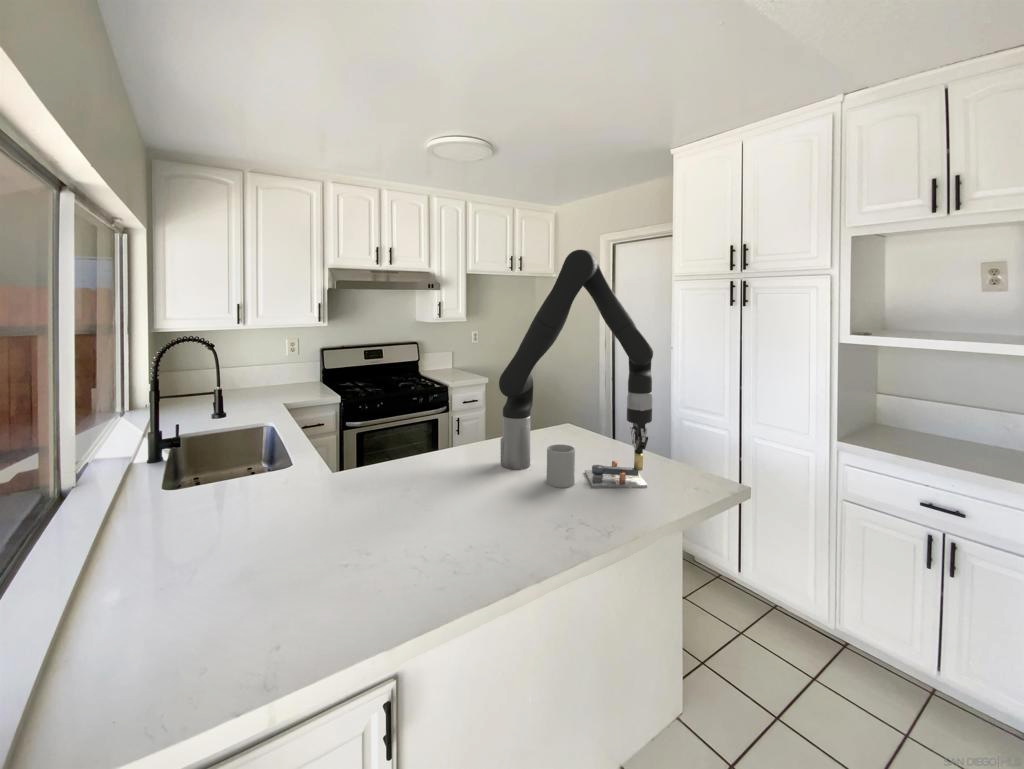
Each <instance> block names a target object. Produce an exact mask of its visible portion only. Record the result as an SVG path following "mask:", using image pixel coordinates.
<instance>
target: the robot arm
mask: <svg viewBox="0 0 1024 769" xmlns="http://www.w3.org/2000/svg"><path fill="white" fill-rule="evenodd" d="M606 279H607V278H605V276H604V274H603V272H602V269H601V268H600V265H599V263H598V260H597V258H596V256H595V254H594V253H592V252H591V251H590V250H587V249H576V250H573V251H571V252H570V253H568V255H567V256H566V257H565V259H564V261H563V263H562V266H561V269H560V271H559V273H558V276H557V278H556V281H555V283H554V284H553V286H552V288H551V291H550V292H549V293H548V295H547V296H546V298H545V300H544V301H543V303H542V304H541V306H540V307H539V310H538V311H537V312H536V315H535V316H534V318H533V319H532V321H531V323H530V325H529V327H528V329H527V331H526V333H525V334H524V337H523V339H522V341H521V342H520V344H519V346H518V349H517V351H516V353H515V354H514V356H513V357H512V359H511V360H510V361H509V363H508V364H507V366H506V367H505V369H504V370H503V372H502V373H501V374H500V376H499V379H498V380H499V381H498V387H499V390H500V392H501V394H502V395H503V396H504V397H506V402H505V403H504V406H503V408H502V437H501V438H500V466H501V467H504V468H505V469H508V470H524V469H528V468H529V467H531V411H532V407H533V405H534V404H533V402H534V378H533V376H532V370H533V369H534V368H535V366H536V365H537V363H538V362H539V361H540V360H541V359H542V358H543V356H545V355H546V353H548V351H549V350H550V349H551V347H552V346H553V345H554V344H555V342H556V340H557V339H558V337H559V335H560V334H561V332H562V330H563V329H564V326H565V324H566V322H567V319H568V316H569V315H570V314H569V313H570V311H571V308H572V306H573V302H574V301H575V299H576V297H577V295H578V294H579V292H580V291H581V290H582V288H584V289H585V290H586V291H587V293H588V294H589V295H590V297H591V298H592V300H593V301H594V304H595V305H596V307H597V310H598V311H599V313H600V315H601V318H602V320H603V321H604V323H605V324H606V325H607V327H608V328H609V331H611V333H612V334H613V336H614V337H615V338H616V339H617V341H618V342H619V343H620V345H621V347H622V349H623V351H624V352H625V354H626V355H627V357H628V379H627V380H628V381H627V397H626V421H627V422H629V423H631V424H632V425H631V426H630V434H631V435H630V436H631V444H632V445H633V448H634V453H633V454H635V453H642V454H643V455H644V453H643V452H644V450H646V447H647V444H648V441H649V437H648V436H647V434H648V428H647V427H646V425H647V424H650V423H652V421H653V392H652V390H653V377H652V360H653V357H654V350H653V348H652V347H653V346H651V344H650V343H649V342H648V341H647V340H646V337H644V335H643V334H642V333H641V332H640V330H639V328H638V326H637V325H636V323H635V321H634V320H633V318H632V316H631V314H629V312H628V311H627V309H626V308H625V306H624V305H623V304H622V302H621V301H620V299H619V298H618V297H617V295H616V294H615V293H614V291H613V290H612V288H611V286H610V284H609V283H608V281H607V280H606Z"/></svg>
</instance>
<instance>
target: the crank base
mask: <svg viewBox="0 0 1024 769" xmlns="http://www.w3.org/2000/svg"><path fill="white" fill-rule="evenodd" d="M611 467H618V461H617V460H612V461H611ZM584 474H585V477H586V478H587V480H588V482H589V485H590V486H591V488H592V489H596V488H597V489H598V488H599V489H602V488H605V489H607V488H616V489H617V488H618V489H619V488H648V484H647V483H646V481H645V480H644V479H643V478H642V476H641V475H640V473H638V476H630V475H626V473H624V472H620V475H614V474H600V475H598V474H593V473H592V469H585V470H584Z"/></svg>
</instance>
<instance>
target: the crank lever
mask: <svg viewBox="0 0 1024 769" xmlns="http://www.w3.org/2000/svg"><path fill="white" fill-rule="evenodd" d="M633 454H634V453H633ZM633 459H634V460H633V461H634V462H633V467H625V466H624V467H623V466H617V467H612V465H611V466H609V465H608V466H607V465H603V464H602V465H601V464H593V465H592V466H591V470H592V473H593V474H598V475H600V474H614V475H620V472H624V473H626V475H630V476H638V474H639V472H640V471H643V468H644V453H643V454H642V453H635V454H634V458H633Z"/></svg>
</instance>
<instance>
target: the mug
mask: <svg viewBox="0 0 1024 769" xmlns="http://www.w3.org/2000/svg"><path fill="white" fill-rule="evenodd" d="M575 461H576V449H575V447H574V446H572V445H569V444H560V443H559V444H552V445H548V446H547V448H546V484H547V485H549V486H550V487H552V488H557V489H567V488H570V487H573V486H574V485H575V472H576V471H575V470H576V469H575V468H576V462H575Z"/></svg>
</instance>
